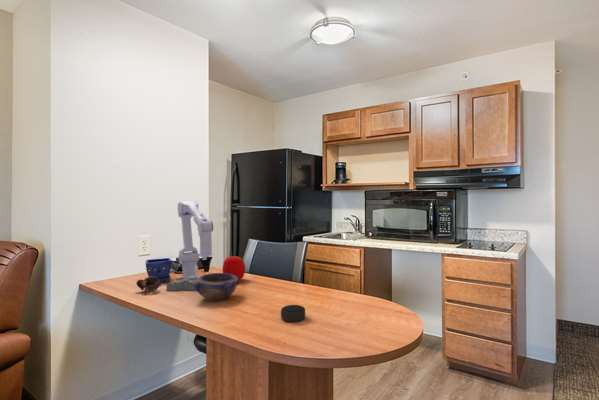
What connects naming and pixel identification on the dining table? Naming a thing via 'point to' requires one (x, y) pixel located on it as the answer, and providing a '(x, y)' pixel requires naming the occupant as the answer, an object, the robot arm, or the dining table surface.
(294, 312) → the smart speaker
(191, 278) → the slate button
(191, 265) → the robot arm
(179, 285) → the panel
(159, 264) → the flower pot
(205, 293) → the bowl
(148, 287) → the brown bird figurine
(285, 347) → the dining table surface
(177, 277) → the peach ball
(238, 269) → the tomato
